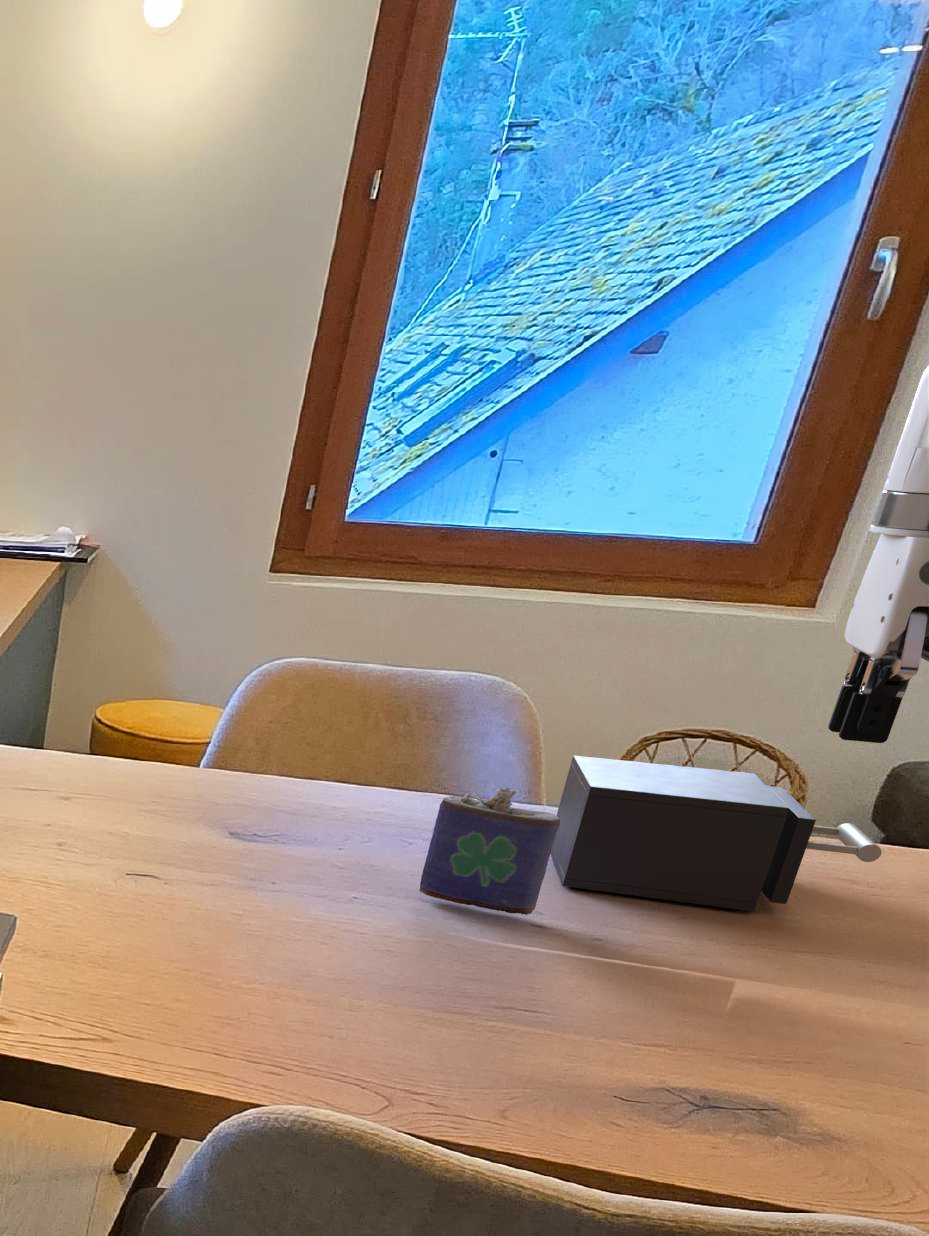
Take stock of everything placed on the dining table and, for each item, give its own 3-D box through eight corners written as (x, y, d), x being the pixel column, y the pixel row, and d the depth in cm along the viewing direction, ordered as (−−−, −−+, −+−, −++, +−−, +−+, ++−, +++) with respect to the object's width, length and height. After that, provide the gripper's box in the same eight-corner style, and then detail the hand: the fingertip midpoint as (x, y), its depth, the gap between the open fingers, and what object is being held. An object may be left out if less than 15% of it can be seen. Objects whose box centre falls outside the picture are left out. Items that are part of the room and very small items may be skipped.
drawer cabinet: (723, 870, 132) (755, 773, 128) (754, 911, 122) (790, 808, 118) (547, 848, 138) (573, 755, 134) (562, 886, 128) (590, 786, 124)
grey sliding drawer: (832, 875, 128) (861, 795, 125) (869, 915, 119) (901, 829, 116) (589, 845, 136) (611, 769, 133) (605, 880, 126) (630, 799, 123)
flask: (535, 908, 122) (569, 794, 117) (530, 919, 120) (564, 803, 115) (421, 884, 127) (448, 774, 122) (414, 894, 125) (441, 783, 120)
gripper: (1034, 527, 104) (943, 763, 111) (958, 510, 117) (881, 722, 124) (908, 522, 107) (827, 752, 114) (848, 507, 120) (779, 713, 127)
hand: (856, 734), depth 119 cm, fingers closed
